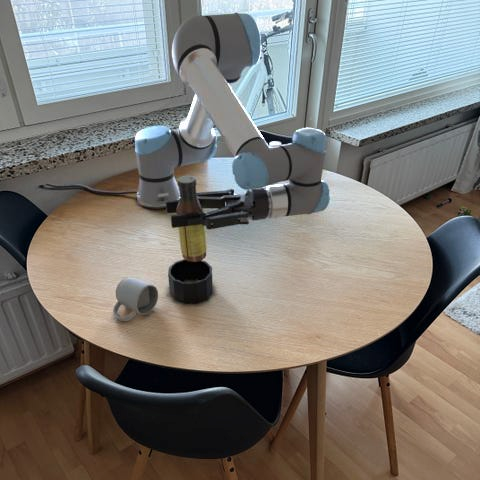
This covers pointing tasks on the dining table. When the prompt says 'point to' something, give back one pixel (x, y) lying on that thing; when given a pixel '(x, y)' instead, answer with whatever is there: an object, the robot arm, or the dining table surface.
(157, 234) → the dining table surface
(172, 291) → the cup
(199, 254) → the sauce bottle
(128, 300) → the ceramic mug
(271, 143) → the sprinkles bottle
